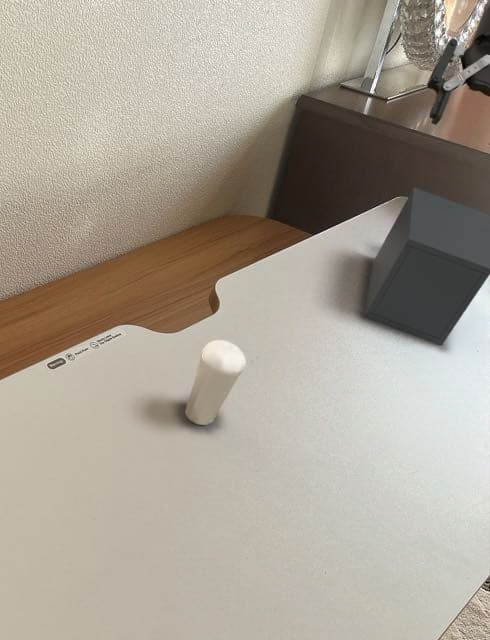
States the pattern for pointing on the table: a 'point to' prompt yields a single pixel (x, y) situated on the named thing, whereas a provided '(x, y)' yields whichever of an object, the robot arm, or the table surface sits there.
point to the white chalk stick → (214, 380)
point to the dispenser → (429, 266)
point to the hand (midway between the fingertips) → (464, 133)
